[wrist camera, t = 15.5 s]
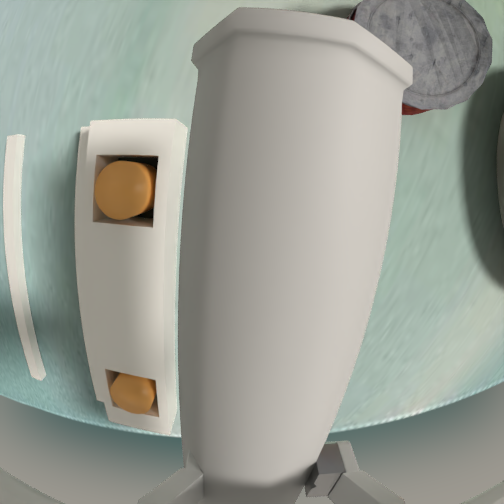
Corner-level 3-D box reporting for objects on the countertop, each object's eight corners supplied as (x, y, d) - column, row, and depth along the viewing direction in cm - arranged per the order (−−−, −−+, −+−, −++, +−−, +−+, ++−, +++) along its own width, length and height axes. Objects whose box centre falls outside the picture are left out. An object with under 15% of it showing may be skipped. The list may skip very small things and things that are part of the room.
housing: (36, 371, 25) (21, 388, 21) (15, 136, 19) (-10, 135, 15) (177, 410, 25) (170, 435, 22) (187, 128, 19) (175, 118, 16)
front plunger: (116, 211, 20) (93, 217, 17) (119, 162, 19) (96, 160, 16) (161, 214, 20) (144, 221, 17) (165, 163, 19) (148, 161, 16)
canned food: (416, 102, 23) (490, 142, 15) (326, 101, 22) (392, 141, 15) (418, -2, 15) (501, 6, 8) (318, -22, 15) (391, -44, 7)
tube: (277, 562, 10) (451, 70, 4) (195, 571, 9) (204, -18, 3) (258, 507, 15) (340, 102, 9) (185, 512, 14) (190, 74, 8)
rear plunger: (126, 384, 24) (113, 408, 21) (122, 354, 23) (107, 377, 20) (162, 392, 24) (152, 417, 21) (160, 362, 23) (149, 386, 20)
